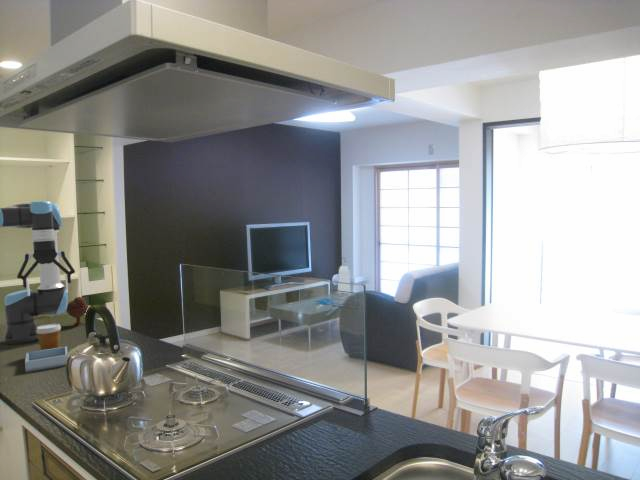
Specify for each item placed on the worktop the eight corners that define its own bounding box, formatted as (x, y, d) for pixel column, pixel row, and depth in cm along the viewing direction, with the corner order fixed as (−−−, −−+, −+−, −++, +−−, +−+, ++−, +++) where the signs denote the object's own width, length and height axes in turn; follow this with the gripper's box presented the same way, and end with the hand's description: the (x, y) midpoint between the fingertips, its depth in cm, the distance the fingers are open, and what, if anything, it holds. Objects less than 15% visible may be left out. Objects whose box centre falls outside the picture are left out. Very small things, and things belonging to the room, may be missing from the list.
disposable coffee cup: (52, 357, 209) (50, 329, 208) (32, 357, 211) (30, 329, 210) (68, 350, 218) (65, 323, 217) (49, 350, 220) (46, 323, 219)
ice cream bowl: (86, 321, 274) (84, 294, 273) (92, 324, 265) (90, 296, 264) (65, 325, 267) (62, 297, 266) (70, 328, 259) (68, 300, 257)
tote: (27, 362, 204) (26, 352, 203) (67, 355, 211) (66, 346, 210) (25, 372, 191) (24, 362, 191) (68, 365, 198) (67, 355, 197)
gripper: (6, 243, 190) (11, 298, 191) (79, 238, 201) (83, 290, 203) (7, 242, 196) (12, 295, 198) (78, 237, 208) (82, 288, 209)
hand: (48, 293), depth 200 cm, fingers open, 13 cm apart
